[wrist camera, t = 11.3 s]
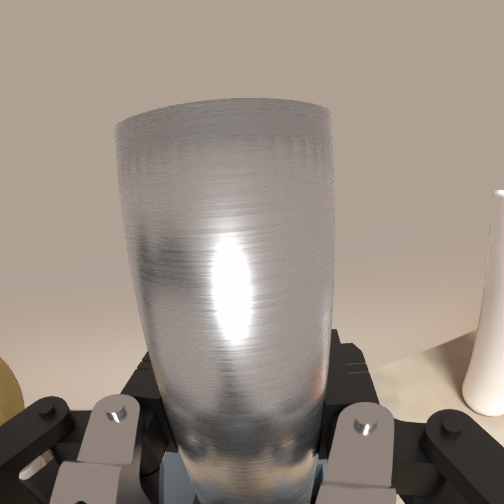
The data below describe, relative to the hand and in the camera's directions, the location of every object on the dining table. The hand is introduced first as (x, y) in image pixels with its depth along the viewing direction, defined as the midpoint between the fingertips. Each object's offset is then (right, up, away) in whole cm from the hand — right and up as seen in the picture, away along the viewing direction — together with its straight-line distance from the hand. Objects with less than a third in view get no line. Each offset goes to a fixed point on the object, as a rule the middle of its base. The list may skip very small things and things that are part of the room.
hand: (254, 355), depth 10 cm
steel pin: (0, -9, 0) cm, 9 cm away
